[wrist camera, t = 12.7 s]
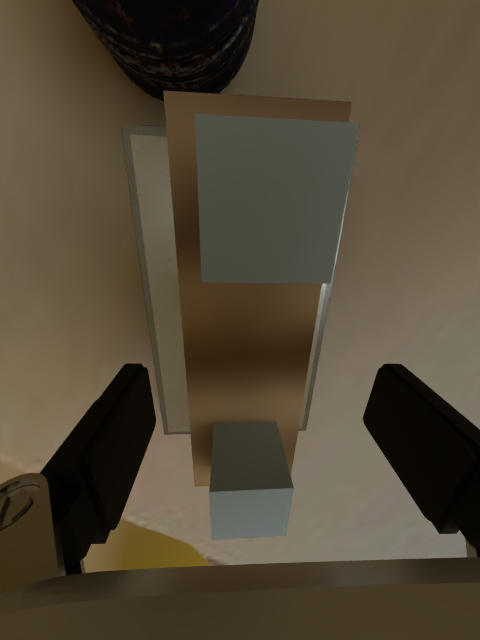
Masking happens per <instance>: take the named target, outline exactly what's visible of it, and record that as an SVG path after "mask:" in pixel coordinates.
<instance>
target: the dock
mask: <svg viewBox="0 0 480 640" xmlns="http://www.w3.org/2000/svg"><path fill="white" fill-rule="evenodd" d="M121 132H122V139H123V146H124V153H125V160H126V168H127V175H128V182H129V189H130V196H131V203H132V210H133V217H134V224H135V231H136V238H137V245H138V252H139V259H140V266H141V274H142V281H143V288H144V295H145V302H146V309H147V316H148V323H149V330H150V337H151V344H152V351H153V358H154V365H155V372H156V380H157V387H158V394H159V401H160V408H161V415H162V422H163V429H164V435H170V434H191V432H190V419H189V407H188V394H187V382H186V369H185V357H184V344H183V331H182V319H181V306H180V294H179V281H178V269H177V256H176V244H175V231H174V219H173V206H172V193H171V181H170V168H169V156H168V143H167V131H166V127H159V126H139V125H121ZM357 142H358V136H357V139H356V144H355V150H354V156H353V161H352V167H351V173H350V178H349V184H348V189H347V195H346V201H345V206H344V212H343V218H342V223H341V229H340V235H339V240H338V246H337V252H336V257H335V263H334V268H333V274H332V280H331V284H322V287H321V293H320V299H319V305H318V311H317V317H316V324H315V330H314V336H313V342H312V348H311V354H310V361H309V367H308V373H307V379H306V385H305V391H304V397H303V404H302V410H301V416H300V422H299V428H298V431H304V430H306V428H307V422H308V416H309V411H310V405H311V400H312V394H313V388H314V383H315V377H316V372H317V366H318V360H319V355H320V349H321V344H322V338H323V332H324V327H325V321H326V316H327V310H328V304H329V299H330V293H331V288H332V282H333V276H334V271H335V265H336V260H337V254H338V248H339V243H340V237H341V232H342V226H343V220H344V215H345V209H346V204H347V198H348V192H349V187H350V181H351V176H352V170H353V164H354V159H355V153H356V148H357Z"/></svg>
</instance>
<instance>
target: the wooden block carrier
mask: <svg viewBox="0 0 480 640" xmlns="http://www.w3.org/2000/svg"><path fill="white" fill-rule="evenodd" d="M163 93H164V106H165V118H166V131H167V143H168V156H169V168H170V181H171V193H172V206H173V219H174V231H175V244H176V256H177V269H178V281H179V294H180V306H181V319H182V331H183V344H184V357H185V369H186V382H187V394H188V407H189V419H190V432H191V444H192V457H193V470H194V482H195V486H210V475H211V459H212V444H213V428H214V423H245V422H277V425H278V429H279V433H280V437H281V441H282V445H283V449H284V452H285V456H286V460H287V464H288V468H289V472H290V476H291V471H292V465H293V459H294V453H295V447H296V440H297V434H298V428H299V422H300V416H301V410H302V404H303V397H304V391H305V385H306V379H307V373H308V367H309V361H310V354H311V348H312V342H313V336H314V330H315V324H316V317H317V311H318V305H319V299H320V293H321V287H322V284H318V283H225V282H202V278H201V254H200V230H199V205H198V181H197V156H196V132H195V114H206V115H224V116H242V117H260V118H279V119H297V120H315V121H333V122H348V121H349V115H350V108H351V102H342V101H326V100H310V99H293V98H277V97H260V96H244V95H228V94H211V93H195V92H178V91H163Z"/></svg>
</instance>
